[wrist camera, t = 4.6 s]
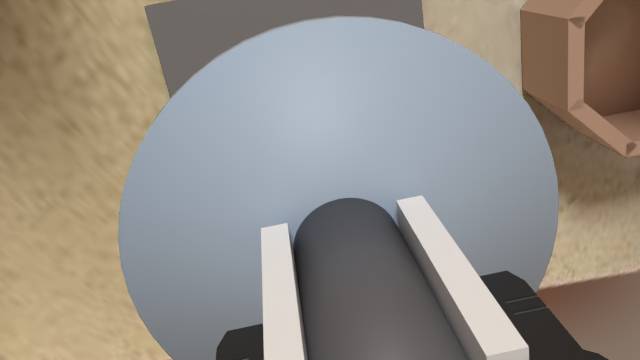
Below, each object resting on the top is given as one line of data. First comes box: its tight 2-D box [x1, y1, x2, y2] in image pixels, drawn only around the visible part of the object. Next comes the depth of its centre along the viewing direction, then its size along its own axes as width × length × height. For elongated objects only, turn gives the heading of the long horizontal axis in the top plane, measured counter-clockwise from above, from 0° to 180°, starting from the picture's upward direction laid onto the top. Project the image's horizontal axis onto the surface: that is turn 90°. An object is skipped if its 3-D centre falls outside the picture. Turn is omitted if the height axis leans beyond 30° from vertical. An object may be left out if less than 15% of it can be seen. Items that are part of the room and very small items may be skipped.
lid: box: [118, 15, 559, 360], centre depth 13 cm, size 13×13×9 cm
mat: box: [145, 0, 424, 98], centre depth 31 cm, size 14×14×1 cm
